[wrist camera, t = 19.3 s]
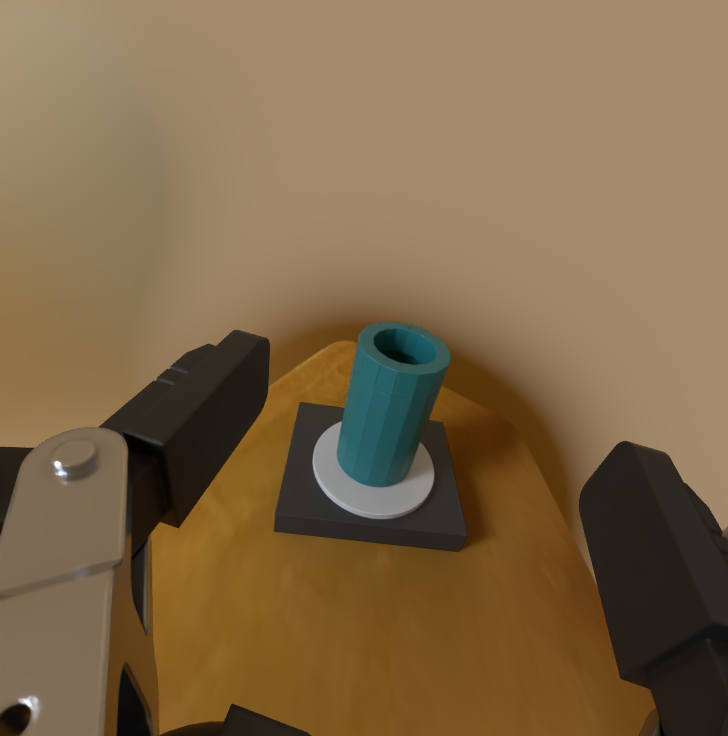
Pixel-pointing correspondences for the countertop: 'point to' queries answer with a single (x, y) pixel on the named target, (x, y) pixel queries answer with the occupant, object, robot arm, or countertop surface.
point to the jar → (389, 401)
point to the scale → (368, 490)
